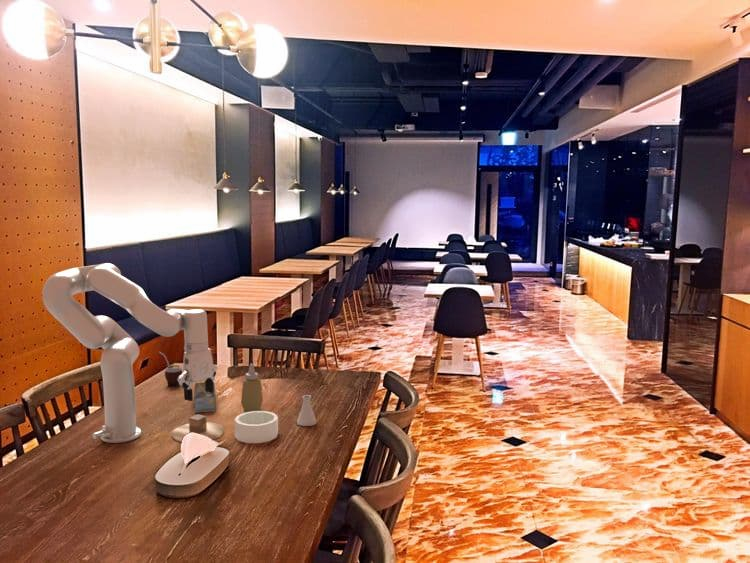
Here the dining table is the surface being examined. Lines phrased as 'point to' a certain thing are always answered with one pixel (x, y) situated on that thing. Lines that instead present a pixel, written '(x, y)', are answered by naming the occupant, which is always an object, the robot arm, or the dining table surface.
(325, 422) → the dining table surface
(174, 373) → the mate gourd
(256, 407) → the squeeze bottle
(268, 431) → the bowl
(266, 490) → the dining table surface
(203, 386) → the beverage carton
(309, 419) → the flask
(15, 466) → the dining table surface
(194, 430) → the lid
